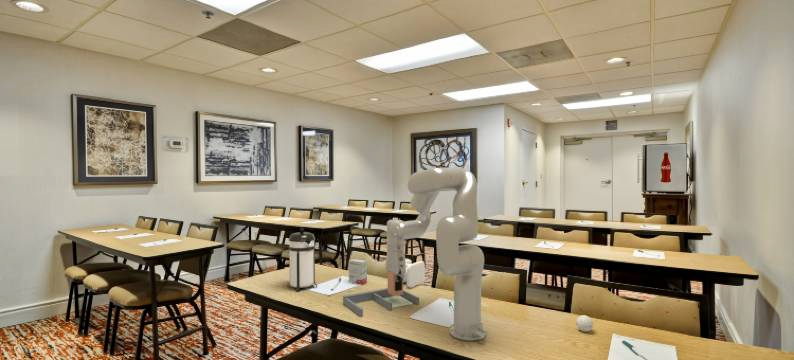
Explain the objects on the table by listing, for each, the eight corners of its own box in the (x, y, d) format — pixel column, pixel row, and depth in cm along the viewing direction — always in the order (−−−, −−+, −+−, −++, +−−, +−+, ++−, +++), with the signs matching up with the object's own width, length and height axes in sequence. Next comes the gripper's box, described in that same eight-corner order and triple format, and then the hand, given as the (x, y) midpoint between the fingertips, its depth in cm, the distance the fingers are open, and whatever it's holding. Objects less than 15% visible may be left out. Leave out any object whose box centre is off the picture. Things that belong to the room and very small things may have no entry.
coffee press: (322, 283, 201) (321, 225, 200) (311, 292, 185) (310, 230, 185) (290, 281, 204) (290, 225, 203) (276, 291, 188) (276, 229, 187)
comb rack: (419, 304, 168) (419, 296, 168) (360, 316, 154) (360, 308, 154) (398, 293, 184) (398, 286, 184) (343, 303, 170) (343, 295, 170)
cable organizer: (408, 290, 189) (408, 266, 189) (391, 286, 196) (391, 263, 195) (425, 283, 201) (425, 260, 201) (408, 279, 208) (408, 258, 207)
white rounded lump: (578, 326, 144) (578, 311, 144) (594, 330, 140) (595, 315, 140) (572, 333, 138) (572, 317, 138) (589, 337, 134) (589, 321, 134)
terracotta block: (402, 294, 171) (403, 271, 170) (393, 296, 168) (393, 273, 168) (397, 291, 175) (397, 269, 175) (387, 293, 172) (387, 270, 172)
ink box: (367, 282, 201) (367, 260, 201) (361, 285, 197) (361, 262, 197) (354, 280, 206) (354, 258, 206) (348, 282, 202) (348, 260, 202)
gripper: (412, 250, 166) (412, 292, 166) (393, 243, 180) (393, 282, 181) (397, 252, 162) (397, 295, 162) (378, 245, 176) (378, 284, 177)
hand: (395, 288), depth 172 cm, fingers closed on terracotta block, 5 cm apart
